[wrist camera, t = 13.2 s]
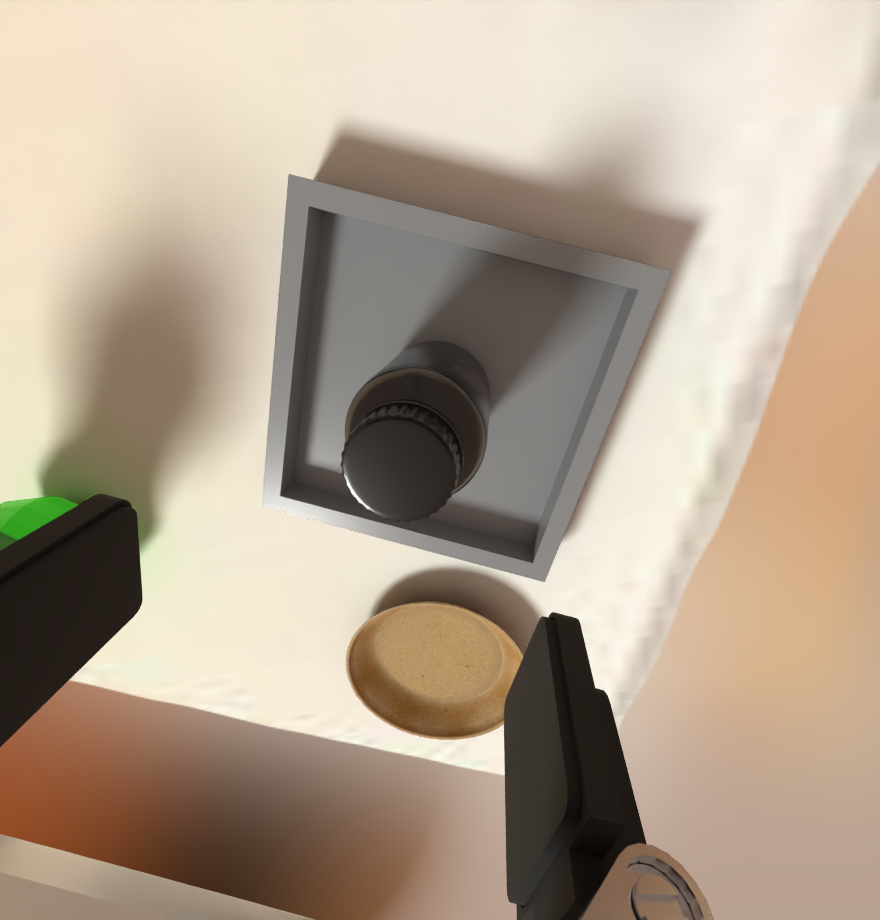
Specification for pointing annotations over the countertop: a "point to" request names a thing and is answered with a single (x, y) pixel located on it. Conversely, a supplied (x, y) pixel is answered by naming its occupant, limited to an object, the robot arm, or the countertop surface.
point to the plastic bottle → (29, 516)
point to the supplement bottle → (417, 431)
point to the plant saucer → (433, 669)
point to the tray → (461, 323)
